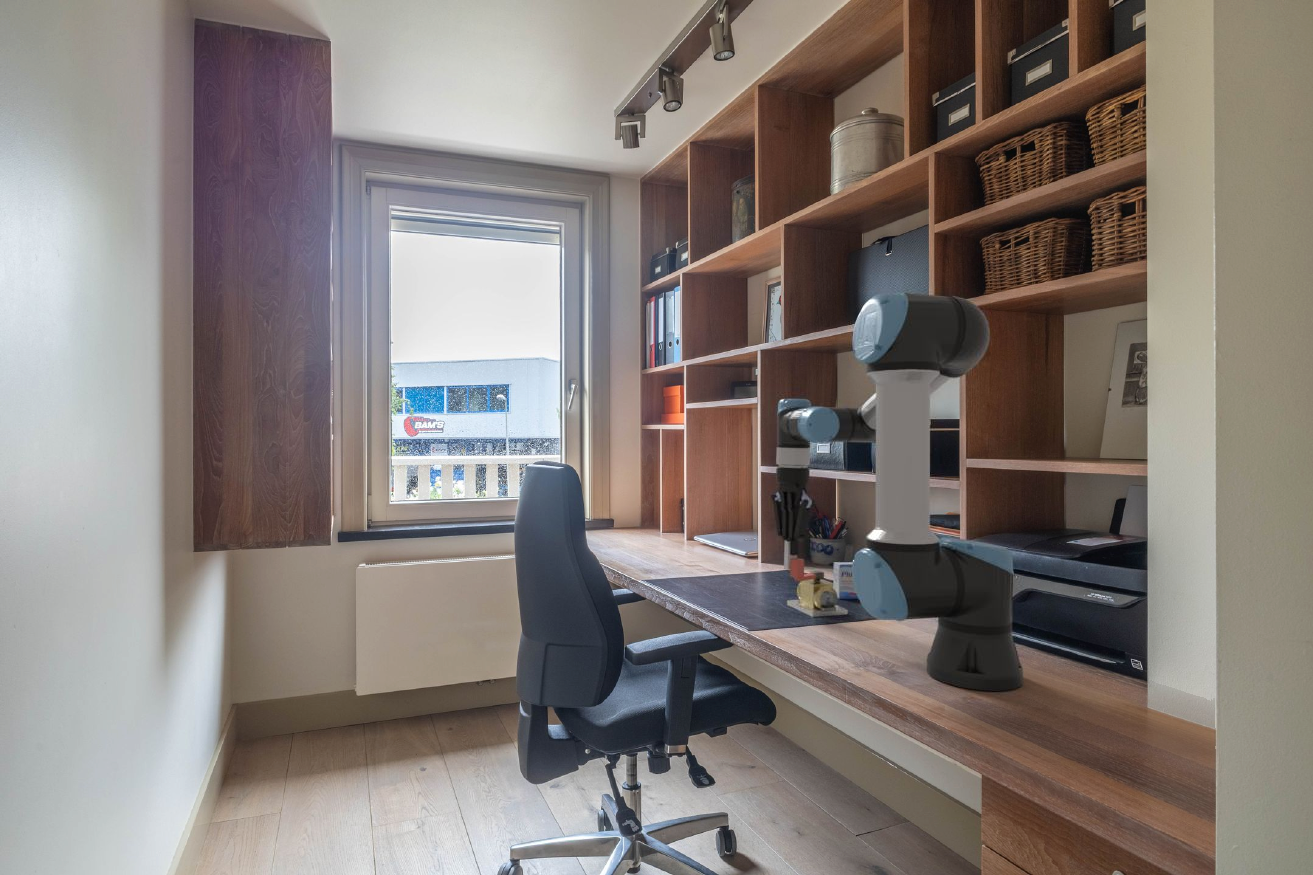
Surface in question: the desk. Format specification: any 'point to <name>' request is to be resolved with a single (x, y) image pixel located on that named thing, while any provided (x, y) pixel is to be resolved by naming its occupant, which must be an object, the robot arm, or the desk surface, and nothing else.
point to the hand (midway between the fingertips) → (790, 568)
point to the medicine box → (844, 580)
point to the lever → (798, 571)
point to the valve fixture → (817, 599)
